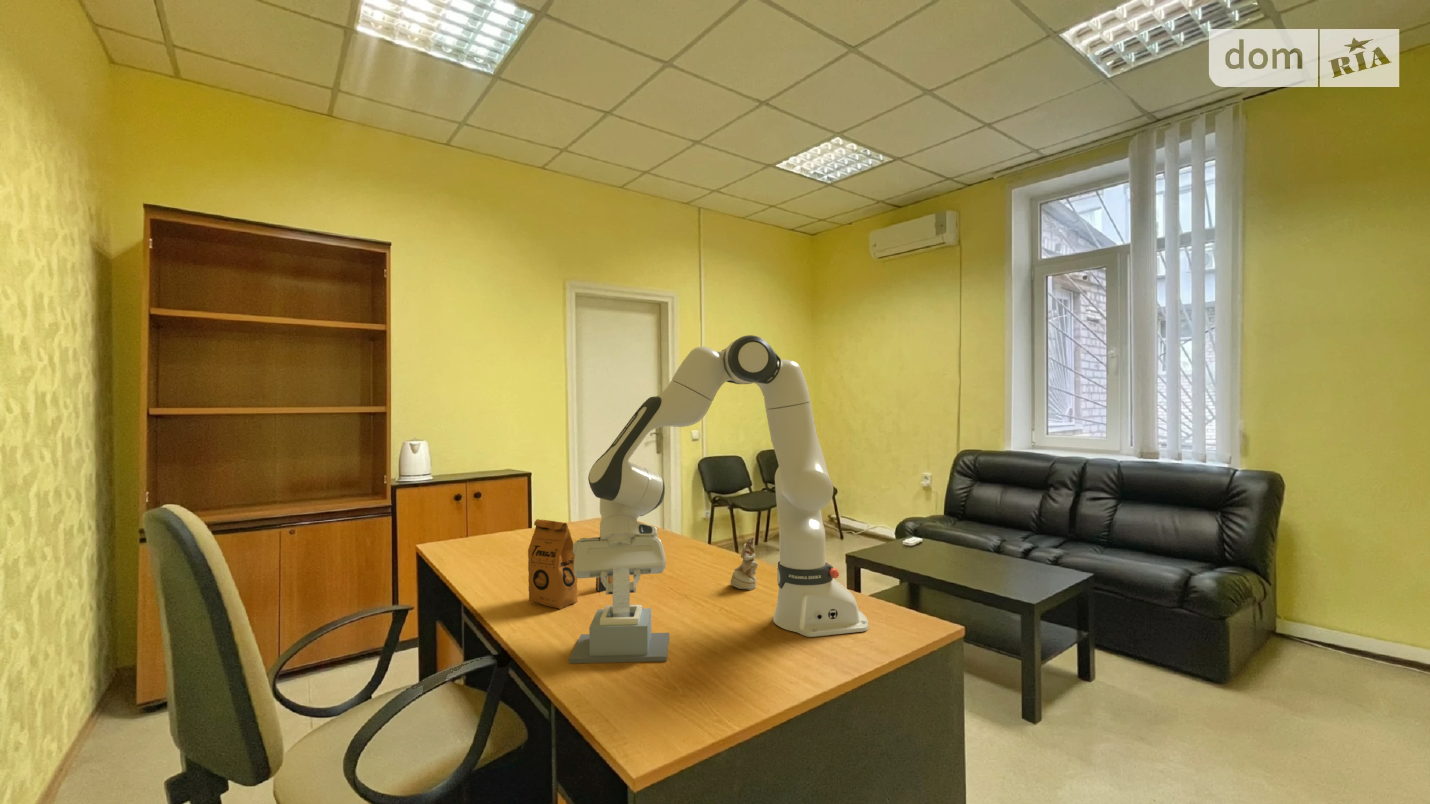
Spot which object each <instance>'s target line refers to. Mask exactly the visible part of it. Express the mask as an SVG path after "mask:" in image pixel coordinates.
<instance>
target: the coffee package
mask: <svg viewBox="0 0 1430 804" xmlns="http://www.w3.org/2000/svg"><path fill="white" fill-rule="evenodd" d="M533 525H534V526H535V529H534V531H533V534H532V537H531V540H530V544H529V546H528V549H527V558H528V562H527V564H528V566H527V567H528V568H527V569H528V578H527V579H528V602H532V603H537V604H542V606H543V605H544V606H546V607H550V608H555V609H559V610H562V609H563V608H567V607H569V606H570V605H573V604H576V603H578V580H579V578H577V577H576V576H575V575H574V560H575V555H574V554H573V544H574V541H573V538H572V536H571V532H570V529H569V525H568V523H567V522H561V521H556V520H550V519H549V520H547V519H538V518H537V519H536V520H535V521H534V522H533Z"/></svg>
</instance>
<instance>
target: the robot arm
mask: <svg viewBox="0 0 1430 804" xmlns="http://www.w3.org/2000/svg"><path fill="white" fill-rule="evenodd" d="M725 383H730V384H735V385H752V384H755V385H756V386H757V387H759V389H760V391H761V392H762V393H761V394H762V396H763V400H764V407H765V414H766V418H767V424H768V430H769V435H770V442H771V443H772V447H773V450H774V453H775V457H776V460H777V464H778V467H777V469H776V471H775V474H774V488H775V503H776V511H777V521H778V533H779V540H778V541H779V561H778V562H777V568H776V570H777V572H776V573H777V574H776V575H777V579H776V580H777V585H778V593H777V600H776V601H777V602H776V607H775V611H774V615H773V618H772V620H773V623H774V624H775V625H777V626H778V627H780V628H782V629H784V630H786V631H791V632H794V633H798V634H800V635H802V636H804V637H807V638H814V637H823V636H831V635H833V636H834V635H841V634H843V635H844V634H850V633H859V632H867V630H868V629H869V621H868V618H867V617H866V615H865V614H864V613H863V612H862V611H861V610H859V607H858V603H857V601H856V597H855V596H854V594H853V593H852V592H851V591H850V590H849V589H848V588H846V587H845V586H843V585H842V584H841V583H840V582H838V580H836V579H838V578H839V577H840V576H839V575H840V572H839V570H838V569H837V568H835V567H834V566H833V565H831V564H830V563H829V562H826V529H825V525H824V521H823V516H822V509H824V508H826V507H828V505H829V504H830V503H831V501H832V500H833V499H832V498H833V495H834V486H833V485H834V484H833V482H832V478H831V476H830V474H829V470H828V466H827V463H826V460H825V455H824V453H823V449H822V446H821V443H820V439H819V437H818V434H817V428H816V423H815V419H814V418H815V417H814V411H813V406H812V400H811V396H810V392H809V387H808V384H807V380H806V377H805V375H804V372H803V370H802V368H801V365H800V364H799V363H797V361H795V360H791V359H781V358H780V356H779V355H778V354H777V353H776V351H774V349H773V348H772V346H771V344H770V343H768V342H767V341H766V340H765V339H764V338H762V337H760V336H757V335H753V334H750V335H744V336H741V337H739V338H737V339H735V340H734V341H732V342H730V344H728V345H727V346H726V347H725V348H723V349H722V350H721V351H717V350H715V349H713V348H711V347H707V346H697V347H695V348H693V349H691V350H690V352H689V353H688V354H687V356H686V357H685V358H684V359H683V361H682V362H681V364H680V365H679V367H677V370H676V371H675V373H674V375H673V377H672V378H671V381H670V382H669V384H668V385H667V387H665V389H664V390H663V391H662V392H661V393H659V394H658V395H656V396H650V397H649V398H647V399H646V400H644V401H643V403H641V405H640V406H639V407H638V408H637V410H636V411H635V413H634V414H633V415H632V416H631V418H630V419H629V420H628V422H627V423H626V424H625V425H624V427H623V429H621V431H620V433H619V434H618V436H616V438H615V439H614V440H613V442H612V443H611V444H610V446H609V447H608V448H607V449H606V451H604V452H603V454H602V455H600V457H599V458H598V459H597V460H595V462H594V463H593V464H592V466H591V469H590V470H589V473H588V478H587V479H588V484H589V488H590V489H591V492H592V494H593V495H594V496H595V497H596V498H597V499H599V513H600V517H601V519H600V523H599V536H595V537H581V538H579V539H578V540H576V541H574V542H573V554H574V555H575V560H574V575H575V576H576V577H577V578H578V579H592V578H596V577H601V582H602V584H603V585H604V586H605V588H606V591H605V595H613V583H611V584H609V583H608V581H607V577H610V576H613V568H629V572H630V576H632V577H633V581H630V594H633V593H634V594H635V593H637V585H638V583H639V581H640V580H641V575H654V574H655V575H657V574H662V573H663V572H664V571H665V569H666V564H667V560H666V554H665V549H664V545H663V543H662V541H661V539H660V538H659V537H658V527H656V526H654V525H650V524H645V523H641V522H638V518H639V517H643V516H645V515H648V514H649V513H651V512H653V511H654V510H656V509H658V507H659V506H660V505H661V504H662V503H663V501H664V498H665V495H666V494H665V493H666V492H665V491H666V487H665V480H664V478H663V477H662V475H661V474H658V473H656V472H655V471H652V470H650V469H647V468H646V467H642V466H639V465H637V464H636V463H633V462H630V461H629V460H630V458H631V457H632V455H633V454H634V453H635V451H636V450H637V449H638V447H639V446H640V444H642V442H643V440H644V439H645V438H646V437H647V435H649V434H650V432H652V431H653V430H656V429H658V428H663V427H674V428H675V427H677V428H685V427H690V426H693V425H695V424H697V423H699V422H700V421H701V420H702V419H703V418H704V417H705V416H706V415H707V414H708V411H709V410H710V407H711V405H712V404H713V402H714V399H715V397H716V396H717V393H718V391H719V389H720V388H721V387H722V386H723V385H724V384H725Z"/></svg>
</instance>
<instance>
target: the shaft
mask: <svg viewBox="0 0 1430 804" xmlns="http://www.w3.org/2000/svg"><path fill="white" fill-rule="evenodd" d="M630 576H631V575H630V572H629V568H613V594H612V605H613V617H630V605H631V604H630V603H631V602H630V597H631V595H630V594H631V593H630V582H631V581H630V579H631V578H630Z"/></svg>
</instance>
